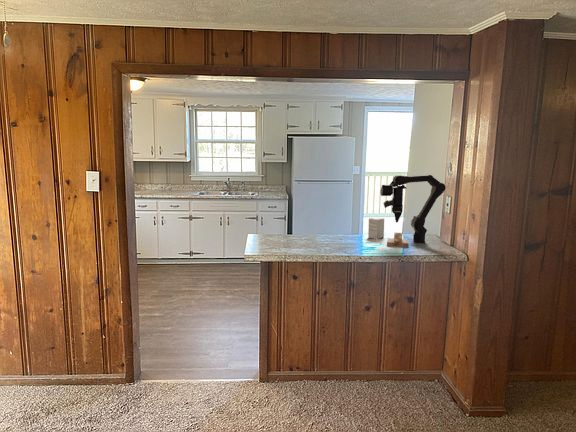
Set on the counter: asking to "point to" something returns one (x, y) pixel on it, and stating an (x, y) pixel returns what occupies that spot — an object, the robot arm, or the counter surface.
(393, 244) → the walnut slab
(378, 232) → the supplement box
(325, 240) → the counter surface
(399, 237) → the maple cube
